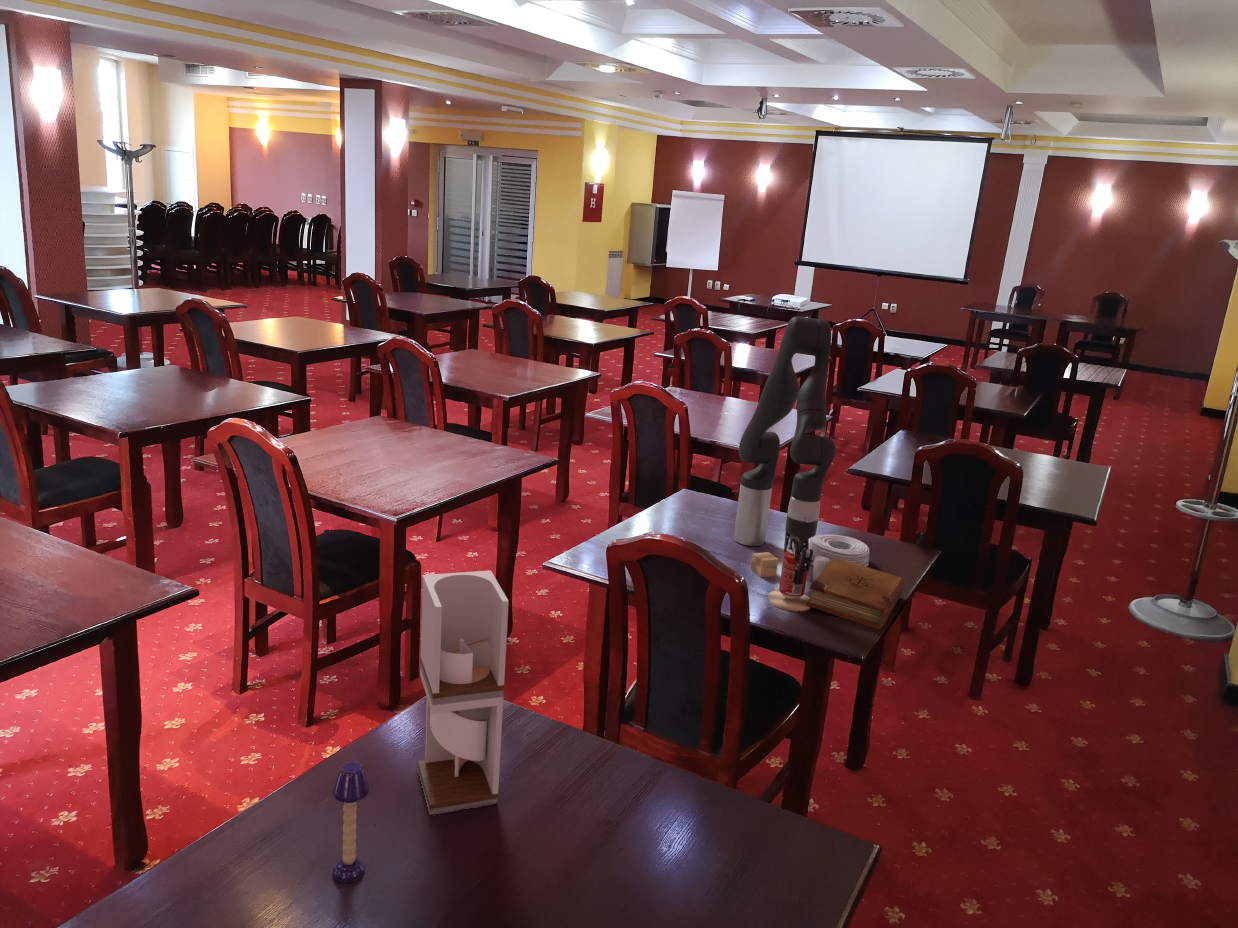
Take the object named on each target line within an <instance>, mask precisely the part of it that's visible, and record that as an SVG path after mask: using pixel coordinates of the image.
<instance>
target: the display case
mask: <svg viewBox="0 0 1238 928" xmlns="http://www.w3.org/2000/svg"><path fill="white" fill-rule="evenodd" d="M421 588H422V589H421V590H422V591H421V595H422V596H421V621H420V622H421V625H420V627H421V628H420V629H421V630H420V631H421V633H420V664H419V665H420V666H419V670H420V671H419V676H420V679H421V682H422V683H421V684H422V686H423V689H424V692H425V695H426V716H425V717H426V718H425V747H424V748H425V749H424V750H425V753H424V759H423V760H422V759H421V760H417V773H418V772H419V775H418V777H419V776H420V779H419V781H420V780H421V783H420V785H421V784H422V786H421V789H422V788H423V790H422V792H423V791H424V794H423V796H424V795H425V798H424V800H425V799H426V802H425V804H426V803H427V805H426V808H427V807H428V809H427V812H428V811H429V813H428V815H429V814H434V813H438V812H443V811H448V810H454V809H460V808H465V807H470V806H476V805H482V804H487V803H496V802H499V787H500V786H499V785H500V783H499V782H500V781H499V780H500V767H501V765H500V764H501V750H502V749H501V747H502V730H503V729H502V728H503V712H504V711H503V710H504V694H505V693H504V692H505V674H506V673H505V672H506V657H507V656H506V654H507V641H508V639H507V637H508V619H509V617H508V616H509V599H508V598H507V596H506V594H505V592H504V590H503V589H502V587H501V586H500V584H499V581H498V580H497V578H496V577H495V575H494V573H493V572H492V570H476V571H465V572H463V571H462V572H460V571H459V572H449V573H434V574H422V587H421Z"/></svg>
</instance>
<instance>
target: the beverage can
mask: <svg viewBox="0 0 1238 928" xmlns="http://www.w3.org/2000/svg"><path fill="white" fill-rule="evenodd" d="M783 553H784V552H783ZM797 557H799V558H800V557H801V555H797ZM795 564H796V561H795V560H794V559H793V551H792V549H789V548H788V549H787V551H786V552H785V553H784V554H783V559H782V564H781V572H780V573H781V575H780V578H779V579H780V580H779V587H778V590H779V591H780V592H781V594H782V595H783V596H784V597H786V598H790V599H798V598H800V597H801V596H803V595H804V594H805V592H806V585H807V580H808V579H807V578H808V572H809V571H804V577H803V583H802V584H794V583H793V580H794V573H795ZM806 564H807V563H806ZM802 566H803V565H802Z"/></svg>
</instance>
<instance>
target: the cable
mask: <svg viewBox="0 0 1238 928" xmlns="http://www.w3.org/2000/svg"><path fill="white" fill-rule="evenodd" d="M809 549H812V550H813V555H812V560H811V564H810V566H812V567H814V562H815V557H818V556H822V557H826V558H829V559H830V563H831V561H832V560H833V559H834V558H837V559H841V560H844V561H848V562H851V563H854V564H858V565H861V566H864V567H868V566H869V560H870V548H869V546H868V545H867V544H866V543H865V542H863V541H861V540H859V539H856V538H854V537H850V536H846V535H839V534H819V535H817V534H816V535H815V536H814V537H811V538H809Z"/></svg>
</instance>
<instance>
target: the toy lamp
mask: <svg viewBox="0 0 1238 928" xmlns="http://www.w3.org/2000/svg"><path fill="white" fill-rule="evenodd" d="M332 789H333V790H332V795H333V797H334V799H335V800H337V801H338V802H341V803H343V807H342V809H343V811H342V812H343V816H342V821H343V825H342V832H343V835H342V842H343V844H342V858H340V859H339V860H338V861H337V862H336V864H335V865H334V867H333V870H332V877H333V879H334V880H336V881H337V882H339V883H342V884H343V883H344V884H348V883H353V882H355V881H358V880H360V879H361V878H362V877H363V876H364V874H365V865H364V863H363V861H362V859H360V858H359V857H357V854H356V849H357V843H356V840H357V832H356V831H357V823H356V821H357V819H358V818H357V817H358V816H357V813H356V812H357V809H358V806H357V802H360V801H362V800H364V799H365V798H366V797H367V796H368V794H369V792H370V791H369V790H370V787H369V782H368V779H367V776H366V772H365V769H364V766H363V765H362V763H360V762H357V761H348V762H345V763H343V764H342V765H341V766H340V767H339V771H338V773H337V777H336V780H335V782H334V786H333V788H332Z"/></svg>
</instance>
